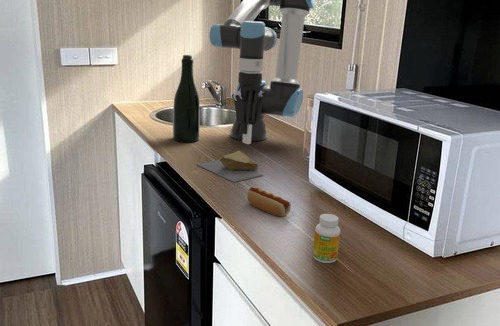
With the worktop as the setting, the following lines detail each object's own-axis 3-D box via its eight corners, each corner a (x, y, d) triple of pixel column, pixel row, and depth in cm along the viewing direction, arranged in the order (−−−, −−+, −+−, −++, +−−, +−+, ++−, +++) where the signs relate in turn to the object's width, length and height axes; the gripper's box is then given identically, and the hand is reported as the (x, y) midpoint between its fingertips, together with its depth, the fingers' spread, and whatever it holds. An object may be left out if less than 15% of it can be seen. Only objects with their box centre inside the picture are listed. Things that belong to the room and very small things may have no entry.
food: (242, 204, 134) (243, 187, 133) (256, 199, 138) (257, 183, 137) (279, 221, 125) (281, 203, 124) (293, 215, 129) (295, 198, 127)
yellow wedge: (258, 164, 157) (238, 142, 159) (238, 182, 157) (218, 159, 159) (261, 169, 168) (242, 148, 170) (243, 186, 168) (224, 165, 170)
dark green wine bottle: (192, 135, 201) (193, 53, 191) (203, 141, 193) (206, 56, 183) (168, 137, 196) (168, 53, 186) (179, 144, 187) (180, 56, 177)
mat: (224, 159, 172) (224, 158, 172) (262, 175, 158) (263, 174, 157) (196, 165, 164) (196, 164, 164) (234, 182, 150) (234, 181, 150)
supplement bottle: (314, 263, 105) (319, 222, 102) (310, 251, 110) (314, 211, 107) (339, 264, 105) (344, 223, 102) (334, 252, 110) (338, 212, 107)
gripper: (242, 74, 149) (238, 148, 156) (273, 72, 157) (268, 143, 164) (227, 70, 154) (224, 142, 161) (258, 69, 162) (254, 137, 170)
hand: (246, 142), depth 163 cm, fingers closed
